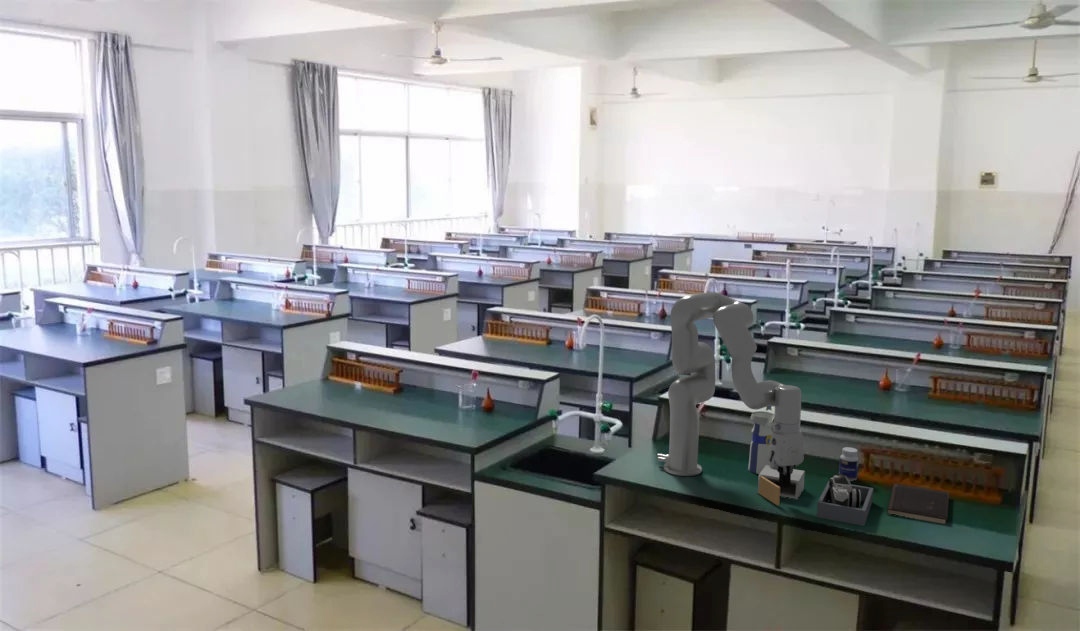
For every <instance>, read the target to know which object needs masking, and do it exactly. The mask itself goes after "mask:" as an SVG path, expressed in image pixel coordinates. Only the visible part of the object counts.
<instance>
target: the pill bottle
mask: <svg viewBox="0 0 1080 631" xmlns="http://www.w3.org/2000/svg"><path fill="white" fill-rule="evenodd" d="M841 450H842V451H841V452H842V454H841V455H840V457H839V466H838V467H839V468H838V470H839V471H838V476H839V477H847V478H848V479H849V481H850V482H854V480H855V481H857V479H858V471H859V470H858V469H859V463H860V462H859V461H860V460H859V457H858V452H859V451H858V449H856V448H855V447H850V446H849V447H847V446H845V447H843V448H842V449H841Z"/></svg>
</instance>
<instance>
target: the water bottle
mask: <svg viewBox="0 0 1080 631" xmlns="http://www.w3.org/2000/svg"><path fill="white" fill-rule="evenodd" d="M773 406H774V405H772V406H767V407H765V411H763V410H759V411H758V410H757V411H753V412H752V413H751V416H750V417H749V418H750V421H752V422H753V427H752V429H751V433H752V434H751V442H750V444H749V445H750V446H749V459H748V467H747V469H748V472H750V473H754V474H758V475H759V474H760V472H761V471H762V470H763V468H764V467H765V466H766V465H771V463H770V461H769V450H770V442H771V436H772V432H773V429H772V426H773V425H772V424H773V423H774V413H773V412H769V411H773V410H772V407H773Z"/></svg>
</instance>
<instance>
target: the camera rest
mask: <svg viewBox="0 0 1080 631" xmlns="http://www.w3.org/2000/svg"><path fill="white" fill-rule="evenodd" d="M850 484H851V483H850ZM851 486H852V489H859V490H860V492H861V501H862V502H861V503H863V505H862V508H853V507H848V506H842V505H837V504H831V503H829V501H828V500H829V490H830V487H829V480H828V482H827V484H826V485H825V487H824V489H823V491H822V492H821V495H820V497H819V499H818V501H817V506H816V508H817V509H816V518H821V519H826V520H831V521H834V522H842V523H847V524H851V525H856V526H862V527H864V526H865V525H866V522H867V519H868V517H869V514H870V511H871V508H872V504H873V501H874V500H873V499H874V488H873V487H868V486H862V485H857V484H851ZM870 507H871V508H870Z"/></svg>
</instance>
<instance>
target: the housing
mask: <svg viewBox="0 0 1080 631" xmlns="http://www.w3.org/2000/svg"><path fill="white" fill-rule="evenodd" d="M770 466H771V465H766V466H765V467H764V468H763V470H762V471H761V472H760V474H758V476H759V475H762V476H763V477H765V478H766V479H768V480H769V481H771V482H773V483H774V484H776V485H777V486H779V487H780V496H784V497H783V498H786V497H789V498H788V499H791V498H795V499H794V500H797V499H799V498H800V496H801V494H802V493H803V491H804V489H805V488H804V487H805V473H806V471H805V470H801V469H795V468H794V469H793V473H792V474H791V481H790V487H783V486H781V485H779V472H778V471H777V470H774V469H771V468H770ZM801 492H802V493H801ZM798 497H799V498H798Z"/></svg>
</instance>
